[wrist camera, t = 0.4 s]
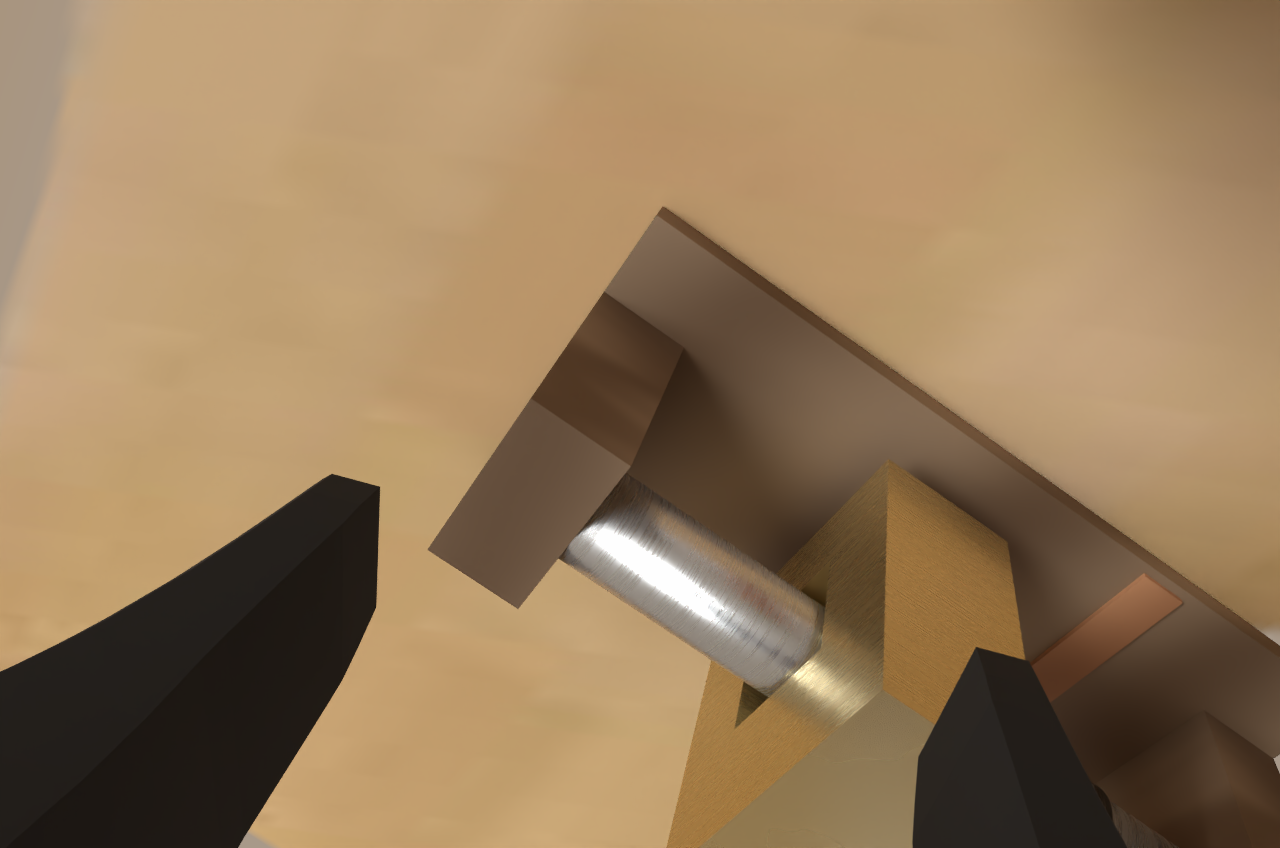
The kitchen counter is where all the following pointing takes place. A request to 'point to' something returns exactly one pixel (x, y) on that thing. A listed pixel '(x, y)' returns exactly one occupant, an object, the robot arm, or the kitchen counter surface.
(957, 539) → the brushed brass square block
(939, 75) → the kitchen counter surface
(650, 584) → the pipe
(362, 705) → the kitchen counter surface
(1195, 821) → the slider rail
